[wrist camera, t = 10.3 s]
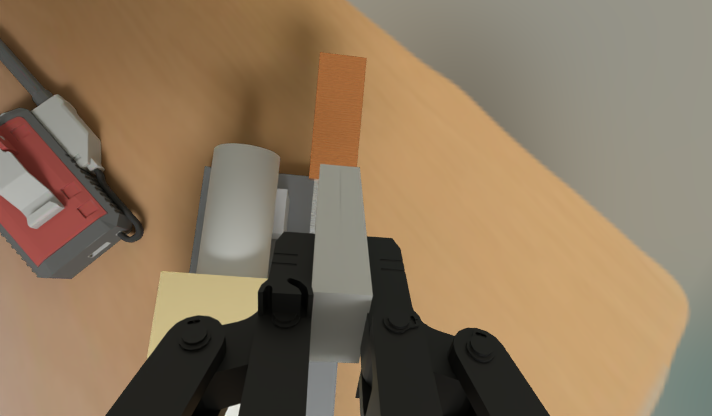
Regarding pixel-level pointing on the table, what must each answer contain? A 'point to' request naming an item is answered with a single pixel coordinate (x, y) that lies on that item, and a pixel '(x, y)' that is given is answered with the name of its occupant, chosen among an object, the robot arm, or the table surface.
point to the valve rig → (240, 251)
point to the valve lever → (336, 116)
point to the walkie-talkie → (55, 185)
